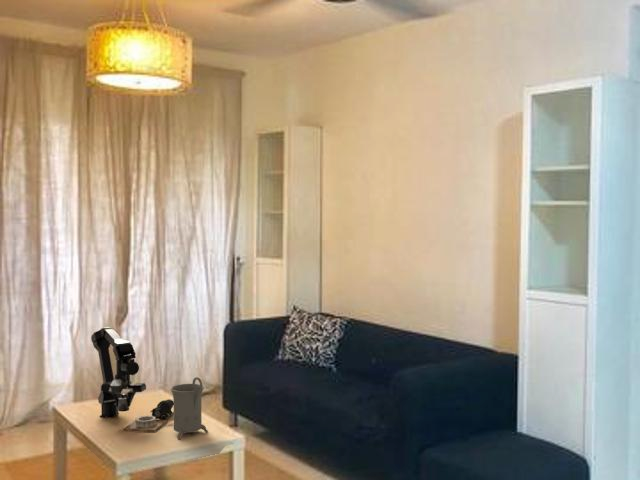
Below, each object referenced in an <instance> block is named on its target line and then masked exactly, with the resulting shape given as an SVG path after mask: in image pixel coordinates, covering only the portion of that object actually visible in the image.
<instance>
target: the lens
mask: <svg viewBox="0 0 640 480" xmlns="http://www.w3.org/2000/svg"><path fill="white" fill-rule="evenodd" d="M127 393H128V392H121V393H120V394H118V412H128V411H130V407H128V394H127Z"/></svg>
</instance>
